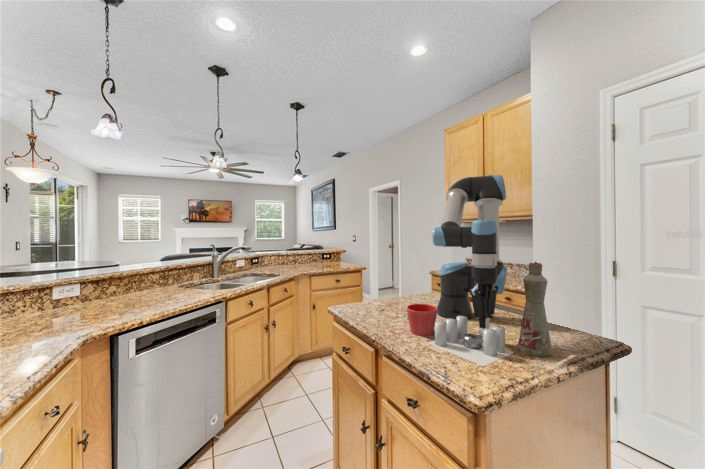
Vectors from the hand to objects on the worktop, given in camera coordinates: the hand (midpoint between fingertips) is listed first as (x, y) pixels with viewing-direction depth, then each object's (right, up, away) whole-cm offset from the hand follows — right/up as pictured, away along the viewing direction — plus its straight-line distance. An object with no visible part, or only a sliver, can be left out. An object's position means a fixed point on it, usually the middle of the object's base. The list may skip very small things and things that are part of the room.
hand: (484, 337), depth 95 cm
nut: (-5, -2, -3) cm, 7 cm away
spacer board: (-7, -2, -5) cm, 9 cm away
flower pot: (-18, -2, +10) cm, 21 cm away
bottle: (+12, -2, -8) cm, 14 cm away
